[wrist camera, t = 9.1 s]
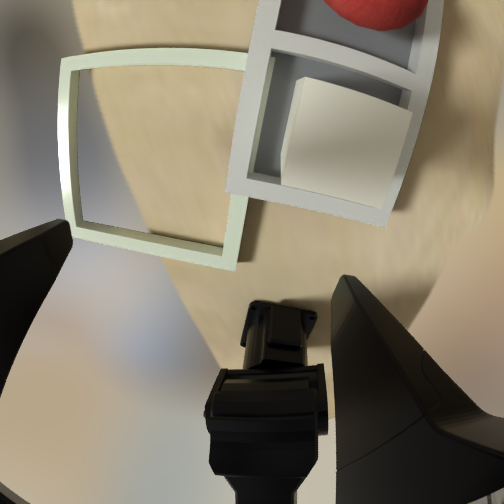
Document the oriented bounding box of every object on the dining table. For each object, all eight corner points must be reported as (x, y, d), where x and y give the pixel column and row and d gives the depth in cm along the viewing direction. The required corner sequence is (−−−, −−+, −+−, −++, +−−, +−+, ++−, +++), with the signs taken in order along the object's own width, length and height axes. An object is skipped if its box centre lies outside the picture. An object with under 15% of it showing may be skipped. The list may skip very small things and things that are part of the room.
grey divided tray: (374, 212, 20) (384, 227, 18) (230, 180, 20) (224, 192, 18) (429, -19, 9) (445, -27, 7) (280, -68, 9) (279, -83, 7)
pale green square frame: (237, 262, 24) (235, 271, 23) (75, 229, 23) (68, 235, 22) (275, 59, 15) (275, 57, 14) (70, 58, 15) (61, 58, 14)
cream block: (353, 171, 18) (381, 209, 13) (280, 154, 18) (281, 184, 12) (372, 102, 15) (412, 112, 10) (296, 80, 15) (305, 76, 10)
